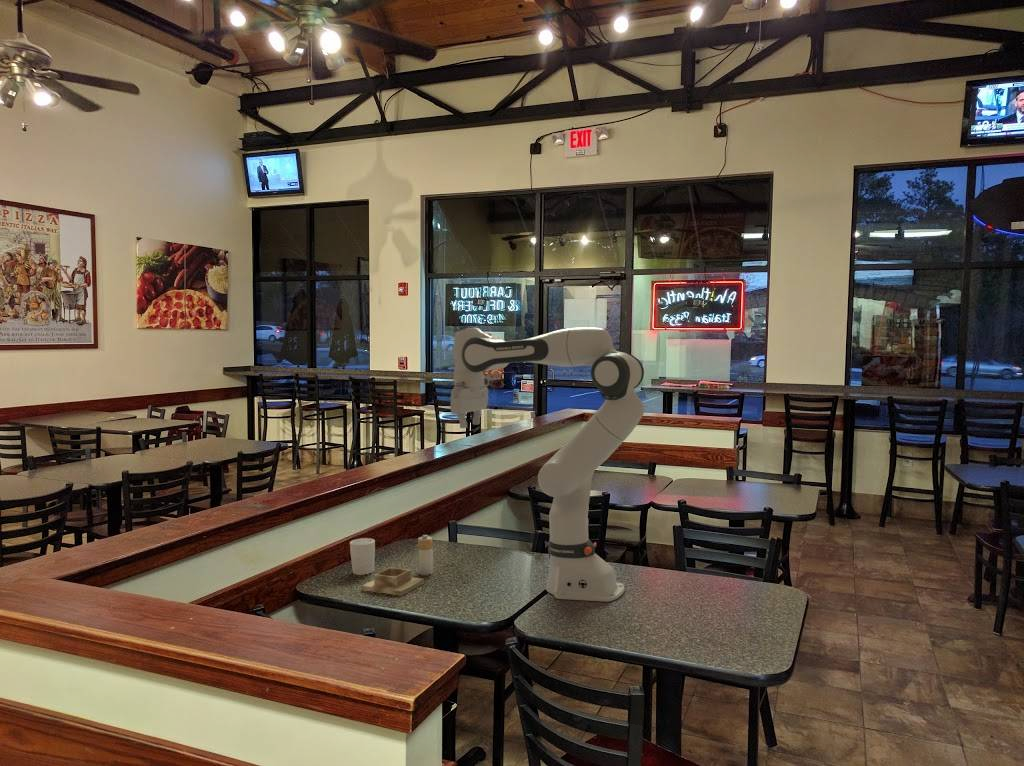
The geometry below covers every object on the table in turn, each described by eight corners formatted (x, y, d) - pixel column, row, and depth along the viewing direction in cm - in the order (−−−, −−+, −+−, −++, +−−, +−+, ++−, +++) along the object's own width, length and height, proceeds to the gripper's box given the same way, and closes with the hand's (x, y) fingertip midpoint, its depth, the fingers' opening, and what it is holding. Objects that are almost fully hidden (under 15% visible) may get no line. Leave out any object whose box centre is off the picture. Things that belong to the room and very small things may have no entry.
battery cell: (436, 571, 226) (434, 534, 225) (428, 576, 222) (427, 538, 221) (424, 570, 228) (422, 533, 227) (416, 574, 224) (415, 536, 223)
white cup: (348, 570, 230) (347, 540, 230) (372, 567, 234) (371, 536, 233) (354, 577, 223) (352, 546, 223) (378, 573, 226) (377, 542, 226)
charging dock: (424, 583, 215) (423, 568, 215) (401, 596, 204) (400, 581, 204) (386, 578, 221) (385, 564, 221) (361, 590, 210) (361, 575, 210)
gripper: (464, 382, 207) (465, 430, 208) (490, 379, 226) (492, 422, 227) (444, 383, 209) (445, 429, 210) (472, 379, 228) (473, 422, 229)
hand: (470, 426), depth 219 cm, fingers open, 8 cm apart
